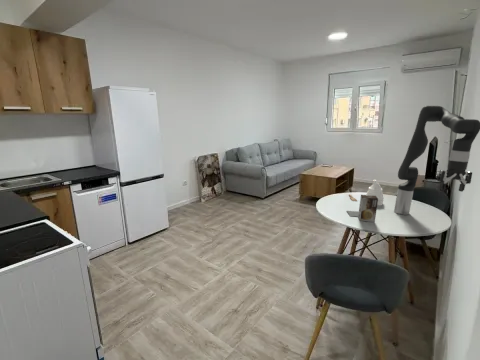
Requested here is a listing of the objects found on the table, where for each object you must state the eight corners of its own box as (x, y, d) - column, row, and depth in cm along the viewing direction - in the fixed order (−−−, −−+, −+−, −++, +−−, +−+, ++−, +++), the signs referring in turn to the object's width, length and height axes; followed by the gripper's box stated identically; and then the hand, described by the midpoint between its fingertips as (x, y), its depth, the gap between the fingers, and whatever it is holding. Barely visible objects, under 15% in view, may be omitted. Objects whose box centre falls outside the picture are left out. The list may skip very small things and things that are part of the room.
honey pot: (361, 201, 209) (364, 179, 204) (372, 199, 214) (375, 178, 210) (375, 206, 198) (378, 183, 193) (386, 204, 203) (390, 181, 199)
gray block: (346, 211, 185) (346, 210, 185) (369, 212, 183) (369, 212, 183) (350, 216, 176) (350, 215, 175) (375, 218, 174) (375, 217, 173)
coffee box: (372, 218, 173) (375, 195, 169) (374, 222, 167) (378, 198, 163) (357, 217, 175) (360, 194, 171) (359, 220, 168) (363, 197, 165)
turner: (347, 195, 223) (347, 194, 223) (352, 195, 223) (352, 194, 223) (352, 201, 209) (352, 200, 209) (357, 201, 208) (357, 200, 208)
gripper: (468, 159, 134) (461, 189, 138) (438, 158, 135) (432, 187, 139) (479, 161, 126) (471, 193, 130) (448, 160, 128) (441, 191, 132)
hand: (451, 190), depth 135 cm, fingers open, 8 cm apart
